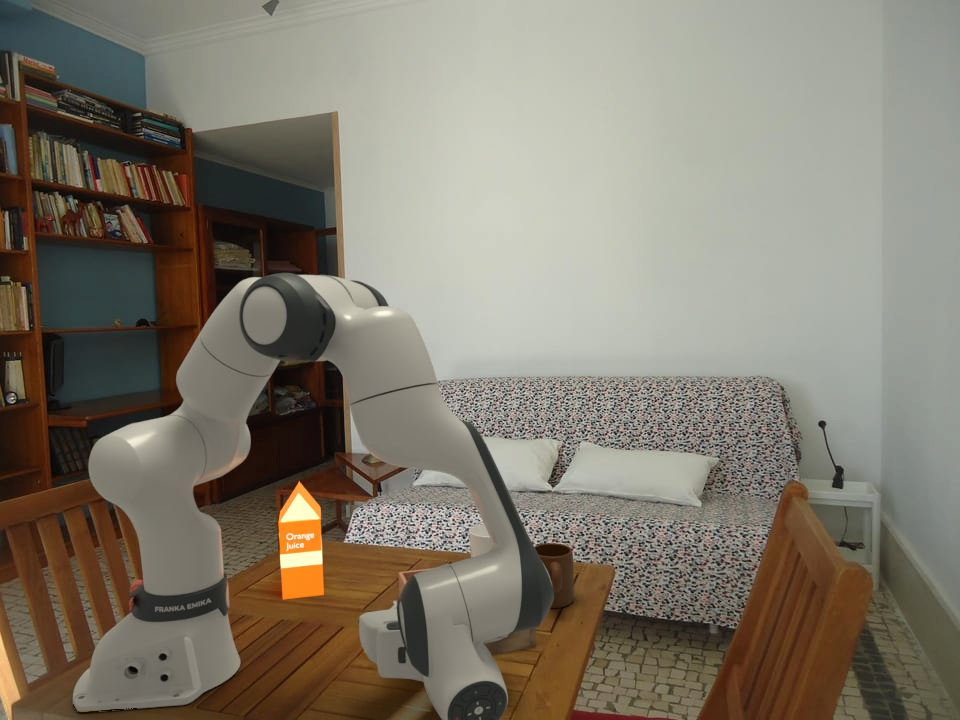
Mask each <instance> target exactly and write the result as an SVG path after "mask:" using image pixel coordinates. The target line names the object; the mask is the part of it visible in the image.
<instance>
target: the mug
mask: <svg viewBox="0 0 960 720" xmlns="http://www.w3.org/2000/svg"><path fill="white" fill-rule="evenodd" d="M534 547H535V549H536V551H537V553H538V555H539V557H540V559H541V560H542V562H543V564H544V565H545V567H546V569H547V571H548V573H549V576H550V579H551V582H552V587H553V592H554V600H553V603H552V605H551V608H550V609H560V608H564V607H567V606H569V605H570V604H572V602H573V601H574V596H575V594H574V593H575V592H574V591H575V589H574V586H575V585H574V582H575V579H574V578H575V576H574V573H575V571H574V555H573V549H572V548H571V547H570V546H569V545H565V544H562V543H556V542H555V543H554V542H552V543H551V542H549V543H541V544H537V545H535V546H534Z"/></svg>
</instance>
